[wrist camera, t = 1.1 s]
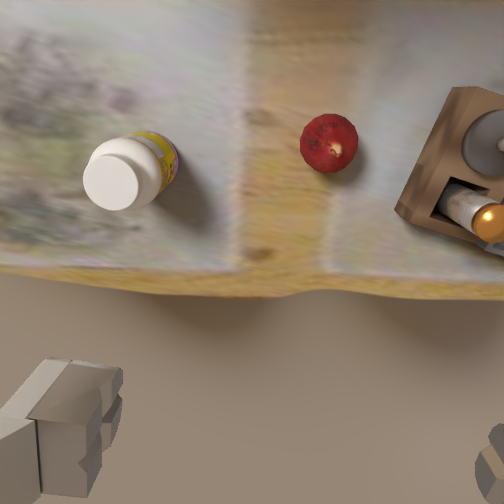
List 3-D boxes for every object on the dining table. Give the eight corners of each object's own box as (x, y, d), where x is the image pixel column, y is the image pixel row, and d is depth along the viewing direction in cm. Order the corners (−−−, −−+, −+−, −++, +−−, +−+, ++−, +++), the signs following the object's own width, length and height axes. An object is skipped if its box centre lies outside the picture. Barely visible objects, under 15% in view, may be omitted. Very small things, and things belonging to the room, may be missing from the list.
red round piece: (289, 155, 43) (295, 168, 35) (308, 104, 41) (319, 106, 33) (336, 172, 43) (351, 188, 36) (358, 122, 41) (379, 129, 34)
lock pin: (432, 173, 43) (491, 201, 32) (459, 182, 44) (526, 212, 32) (418, 201, 44) (470, 236, 33) (444, 209, 45) (504, 247, 34)
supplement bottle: (156, 199, 45) (119, 237, 33) (110, 161, 44) (54, 187, 32) (191, 158, 43) (165, 182, 31) (145, 116, 42) (99, 125, 30)
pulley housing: (452, 87, 40) (493, 85, 33) (519, 111, 40) (573, 115, 33) (394, 209, 45) (418, 230, 38) (454, 228, 46) (489, 253, 39)
